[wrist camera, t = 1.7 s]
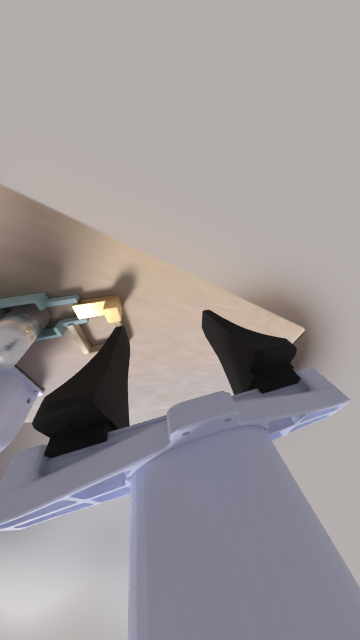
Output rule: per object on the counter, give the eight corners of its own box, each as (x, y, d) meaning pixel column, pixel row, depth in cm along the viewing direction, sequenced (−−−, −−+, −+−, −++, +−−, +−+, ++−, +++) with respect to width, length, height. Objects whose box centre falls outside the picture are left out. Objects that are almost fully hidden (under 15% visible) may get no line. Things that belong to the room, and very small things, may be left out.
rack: (128, 341, 26) (128, 347, 25) (88, 350, 25) (86, 357, 23) (118, 311, 22) (117, 316, 21) (70, 320, 21) (66, 326, 20)
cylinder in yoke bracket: (55, 323, 21) (26, 365, 15) (26, 328, 20) (-18, 375, 14) (40, 300, 19) (-2, 339, 13) (6, 305, 18) (-54, 348, 12)
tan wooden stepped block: (122, 306, 22) (121, 320, 19) (81, 313, 21) (73, 329, 18) (118, 294, 21) (116, 307, 18) (75, 301, 20) (65, 316, 17)
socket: (92, 322, 22) (85, 342, 19) (17, 336, 20) (-7, 362, 17) (74, 287, 19) (62, 304, 15) (-17, 300, 17) (-55, 322, 13)
